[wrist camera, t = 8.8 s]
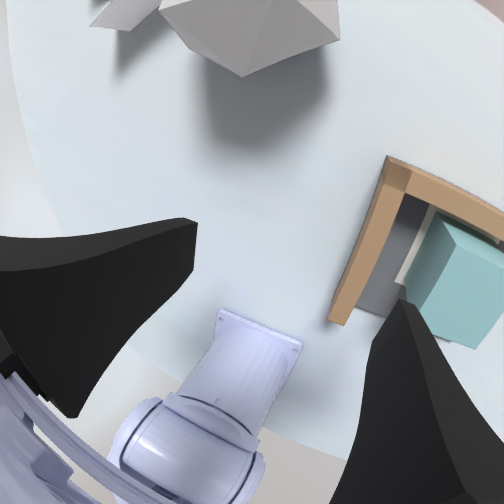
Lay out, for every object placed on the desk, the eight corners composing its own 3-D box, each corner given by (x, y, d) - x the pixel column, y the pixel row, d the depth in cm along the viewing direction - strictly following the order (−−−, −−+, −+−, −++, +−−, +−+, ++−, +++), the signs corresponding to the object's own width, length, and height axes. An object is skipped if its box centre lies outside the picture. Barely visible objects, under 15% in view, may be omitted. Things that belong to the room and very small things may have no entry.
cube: (494, 240, 13) (523, 280, 9) (460, 300, 16) (474, 349, 12) (435, 210, 15) (456, 244, 10) (404, 277, 17) (409, 325, 13)
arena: (453, 339, 18) (458, 365, 15) (333, 294, 20) (327, 319, 18) (521, 223, 12) (540, 242, 10) (386, 155, 15) (390, 161, 12)
